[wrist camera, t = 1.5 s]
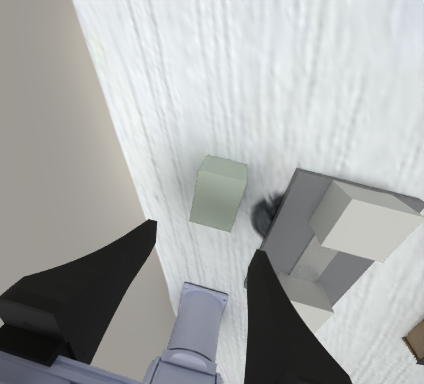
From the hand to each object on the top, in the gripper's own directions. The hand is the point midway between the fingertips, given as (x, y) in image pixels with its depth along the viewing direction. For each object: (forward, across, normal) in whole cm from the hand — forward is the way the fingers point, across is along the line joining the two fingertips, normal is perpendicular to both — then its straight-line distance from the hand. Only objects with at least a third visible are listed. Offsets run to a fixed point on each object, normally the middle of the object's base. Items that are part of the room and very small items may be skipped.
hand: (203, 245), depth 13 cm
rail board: (+10, -14, +6) cm, 19 cm away
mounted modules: (+10, -14, +6) cm, 19 cm away
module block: (+11, 0, 0) cm, 11 cm away
